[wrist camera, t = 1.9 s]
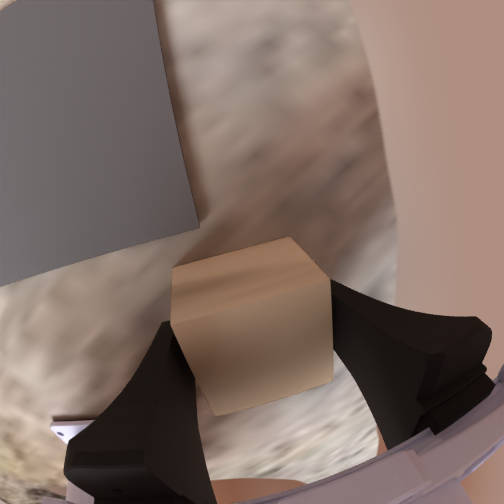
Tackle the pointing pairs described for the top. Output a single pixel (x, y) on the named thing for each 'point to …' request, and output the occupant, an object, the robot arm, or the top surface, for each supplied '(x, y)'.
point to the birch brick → (254, 324)
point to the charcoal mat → (85, 135)
